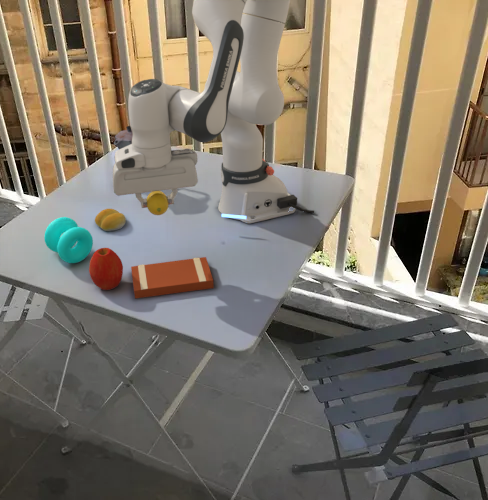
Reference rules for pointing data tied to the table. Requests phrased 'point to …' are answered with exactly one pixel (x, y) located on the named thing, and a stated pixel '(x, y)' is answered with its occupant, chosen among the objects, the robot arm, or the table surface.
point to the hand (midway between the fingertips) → (157, 205)
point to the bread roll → (110, 220)
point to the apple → (106, 269)
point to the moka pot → (124, 138)
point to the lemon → (157, 202)
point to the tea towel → (171, 277)
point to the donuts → (68, 240)
